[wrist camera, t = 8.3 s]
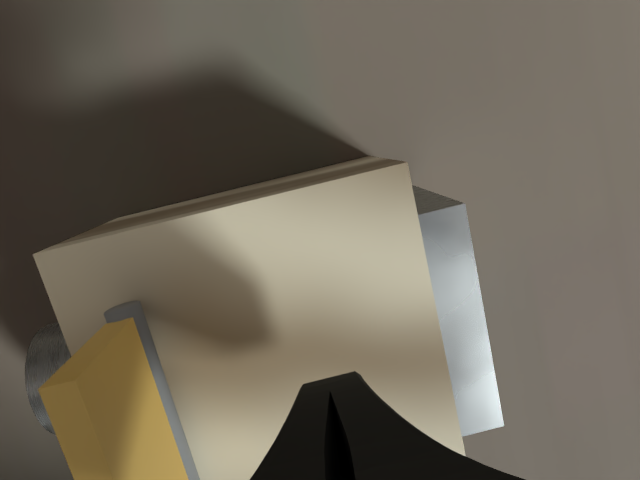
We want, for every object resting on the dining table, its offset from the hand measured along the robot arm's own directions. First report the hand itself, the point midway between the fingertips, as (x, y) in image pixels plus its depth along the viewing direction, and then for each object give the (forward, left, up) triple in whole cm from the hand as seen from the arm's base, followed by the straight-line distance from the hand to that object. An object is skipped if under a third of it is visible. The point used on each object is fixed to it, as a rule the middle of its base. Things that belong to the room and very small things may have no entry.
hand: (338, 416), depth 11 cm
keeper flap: (0, +5, -2) cm, 5 cm away
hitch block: (0, +2, -9) cm, 9 cm away
